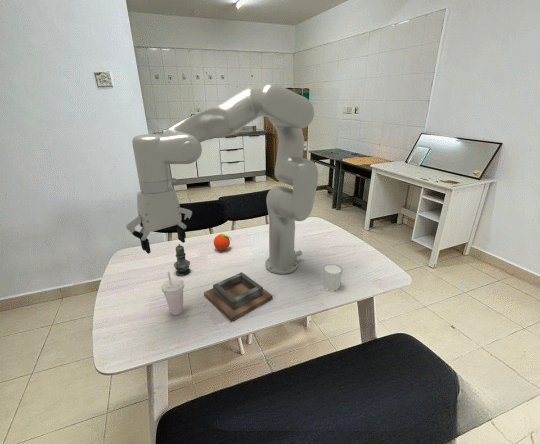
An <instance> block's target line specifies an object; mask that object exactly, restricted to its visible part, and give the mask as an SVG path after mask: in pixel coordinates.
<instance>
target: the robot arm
mask: <svg viewBox="0 0 540 444" xmlns="http://www.w3.org/2000/svg"><path fill="white" fill-rule="evenodd" d="M260 117H264V118H265V117H266V118H268V121H269V122H270V123H271V124H272V126H273V127H274V129H275V131H276V132H277V138H278V144H277V145H278V146H277V153H276V160H275V167H274V176H275V178H276V179H277V180H278V181H279V182H281V183H283V184H286V185H289V186H292V188H290V187H288V186H284V185H277V186H273V187H272V188H271V189H270V190H269V191H268V192H267V194H266V201H265V202H266V207H267V213H268V228H269V229H268V234H269V236H268V237H269V239H268V244H269V245H268V247H269V249H268V250H269V255H268V258H267V259H266V260H265V266H264V267H265V268H266V270H267V271H269V272H271V273H273V274H275V275H276V274H277V275H288V274H291V273H293V272H295V271H296V270H297V269H298V266H299V263H298V261H297V258H298V257H300V256H302V255H303V252H302V250H301V249H299V250H297V251H296V250H295V240H296V239H295V237H296V221H297V222H303V221H306V220H307V219H308V218H309V217H310V215H311V213H312V211H313V206H314V202H315V197H316V191H317V187H318V184H319V183H318V182H319V169H318V166H317V164H316V163H315V162H314V161H312V160H311V159H308V158H304V157H303V153H304V147H305V136H304V133H303V129H305V128H307V127H309V125H310V124H311V123H312V121H313V120H314V117H315V107H314V105H313V104H312V102H311V100H309V99H308V98H307V97H305V96H303V95H300V94H299V93H296V92H294V91H293V90H290V89H288V88H286V87H284V86H282V85H279V84H277V83H272V82H271V83H270V82H268V83H254V84H253V83H252V84H249V85H248V86H246V87H244V88H242V89H240V90H239V91H237V92H236V93H234V94H233V95H230V96H229V97H228V98H225V99H224V100H223V101H220V102H219V103H217V104H216V105H214V106H211V107H209V108H206V109H204V110H203V111H200V112H198V113H196V114H193V115H191V116H189V117H187V118H184V119H183V120H181V121H180V122H177V123H175V124H174V125H173V126H171V127H169V128H168V129H166V130H165V131H163V132H162V133H161V134H154V133H153V134H149V133H147V134H139V135H135V136H134V137H133V138H132V139H131V140H132V141H131V143H132V148H133V155H134V162H135V167H136V171H137V179H138V184H139V189H140V190H139V191H138V192H137V194H136V205H137V207H136V209H137V216H136V217H135V218H134V219H133V220H131V221H130V222H128V224H126V225H125V228H126V229H127V230H128V231H129V232H130V233H131V234H132V235H133V236H134V237H135V238H138V239H139V240H140V245H141V249H142V250H143V251H145V253H147V254H148V255H149V254H151V252H152V251H151V246H150V245H151V244H150V240H149V239H148V236H149V235H150V233H151V232H156V231H159V230H163V229H167V228H171V227H175V226H176V233H177V239H178V240H179V241H180V242H181V243H183V244H184V243H186V238H187V236H186V235H187V234H186V229H187V226H188V225H189V223H190V221H191V217H192V215H193V211H192V210H190V209H187V208H184V207H181V206H180V202H179V198H178V196H177V192H176V189H175V188H174V187H173V185H175V184H177V178H176V177H171V176H172V175H171V171H170V170H171V169H170V165H190V164H193V163H195V162H197V161H198V160H199V159H200V157H201V156H202V153H203V152H202V151H203V150H202V149H203V148H202V144H201V143H202V142H205V141H207V140H212V139H219V138H223V137H229V136H231V135H233V134H235V133H237V132H238V131H240V130H241V129H243V128H245V127H246V126H247V125H249V124H250V123H252V122H253V121H255V120H256V119H259V118H260ZM182 214H184V217H182ZM137 226H140V227H141V229H140V230H139V231H137V230H136V229H135V228H136V227H137Z"/></svg>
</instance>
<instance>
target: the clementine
mask: <svg viewBox="0 0 540 444" xmlns="http://www.w3.org/2000/svg"><path fill="white" fill-rule="evenodd" d="M231 240H232V238H231V237H230V235H227V234H224V233H220V234H218V235H216V236H215V237H214V239H213V246H214V248H216V249H217V250H218V251H225V250H228V248H229V247H230V245H231Z"/></svg>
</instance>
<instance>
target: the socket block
mask: <svg viewBox="0 0 540 444" xmlns="http://www.w3.org/2000/svg"><path fill="white" fill-rule="evenodd" d="M203 296H204V297H205V298H206V299H207V300H208V301H209V302H210V303H211V304H212V305H213V306H214V307H215V308H217V310H218V311H219V312H220V313H222V314H223V315H224V317H225V318H227V320H229V321H230V322H231V323H232V321H233V322H234V321H236V320H238V319H240V318H241V317H243V316H245V315H247V314H249V313H251V312H252V311H254V310H256V309H258V308H260V307H261V306H263V305H265V304H267V303H269V302H270V301H272V300H273V298H274V297H273V296H274V295H273V294H272V293H270V292H269V291H267V289H265V288H264V287H263V286H262V285H261V284H259V283H257V282H256V281H255V280H253V279H252V278H251V277H249V276H248V275H246V274H245V273H244V272H243V271H241V272H239V273H237V274H235V275H231V276H230V277H228V278H226V279H224V280H221V281H219V282H216V283H214V284H212V288H210V289H208V290H206V291H204V292H203Z"/></svg>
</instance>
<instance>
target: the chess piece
mask: <svg viewBox="0 0 540 444" xmlns="http://www.w3.org/2000/svg"><path fill="white" fill-rule="evenodd" d="M175 253H176V254H175V257H176V262H174V263H173V267H174V268H175V275H176V276H178V277H184V276H187V275H189V274H190V273H191V269H190V264H191V261H190V260H187V259H186V252H185V248H184V245H181V244H180V243H178V245H176V247H175Z"/></svg>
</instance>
